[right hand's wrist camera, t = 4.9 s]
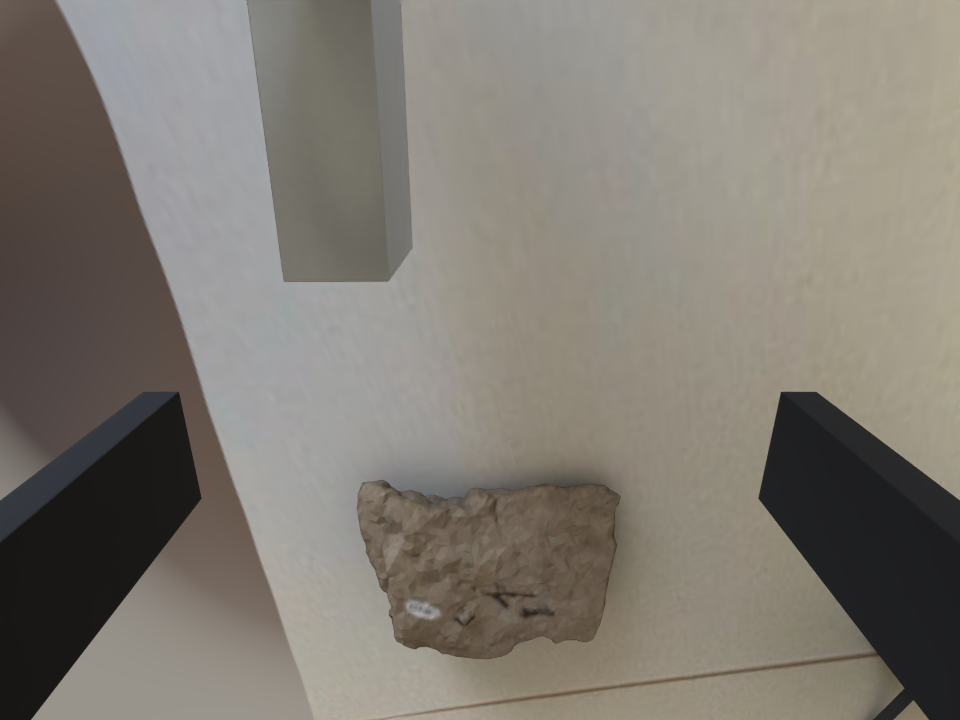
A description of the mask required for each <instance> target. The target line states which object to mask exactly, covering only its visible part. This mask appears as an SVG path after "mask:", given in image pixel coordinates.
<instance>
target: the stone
mask: <svg viewBox="0 0 960 720" xmlns="http://www.w3.org/2000/svg"><path fill="white" fill-rule="evenodd" d="M619 500H620V496H619V495H618V494H617V493H615V492H614V491H612V490H610V489H609V488H607V487H606V486H605V485H593V484H589V485H581V486H574V487H570V488H562V487H555V486H552V485H550V484H542V485H538V486H535V487H527V488H525V489H522V490H508V489H504V488H500V489H495V490H485V489H482V488H472V489H470V490H469V492H468V494H467V496H466V498H464V499H463V498H459V497H453V498H449V499H447V500H446V499H443V498H441V497H438V496H435V495H428V496H426V497H425V496H424V495H422V494H421V493H418V492H415V491H411V490H410V491H406V492H399V491H397V490H396V489H394V488H393V487H391V486H390V485H389V483H388V482H386V481H384V480H379V481H375V482H363V483H362V486H361V488H360V490H359V493H358V505H357V512H358V518H359V524H360V530H361V534H362V537H363V540H364V542H365V543H366V553H367V555H368V557H369V560H370V563H371V564H372V566H373V567H374V569H375V571H376V575H377V577H378V580H379V584H380V588H381V589H382V590H383V591H384V592H386V593H387V595H388V599H389V602H390V604H391V609H390V610H389V616H390V617H391V618H392V624H393V628H394V637H395V639H396V641H397V642H399V643H401V644H403V645H404V646H406V647H409V648H412V649H417V648H419V647H429V648H433V649H436V650H438V651H439V652H440V653H442V654H449V655H453V656H456V657H466V658H475V659H492V658H496V657H500V656H504V655H507V654H508V653H509V652H510V651H512V649H513V647H514V646H515V645H517V644H518V643H520V642H523V641H528V640H531V639H534V638H536V637H539V636H545V637H547V638H549V639H551V640H552V641H553V642H554V643H556V644H557V643H559V642H562V641H564V640H578V641H581V642H588V641H591V640H592V639H593V638H594V636H595V634H596V631H597V629H598V627H599V625H600V622H601V618H602V615H603V610H604V606H605V594H606V590H607V586H608V580H609V574H610V570H611V567H612V563H613V558H614V554H615V551H616V547H617V543H616V541H615V538H614V528H615V523H614V521H615V507H616V506H617V505H618V504H619Z"/></svg>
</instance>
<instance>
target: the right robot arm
mask: <svg viewBox="0 0 960 720" xmlns="http://www.w3.org/2000/svg"><path fill="white" fill-rule="evenodd" d="M200 500H201V494H200V489H199V484H198V480H197V475H196V470H195V466H194V461H193V456H192V452H191V447H190V442H189V437H188V433H187V428H186V423H185V418H184V414H183V409H182V405H181V400H180V395H179V392H143V393H142V394H140V395H139V396H138V397H136V398H135V399H134V400H132V401H131V402H130V403H128V404H127V405H126V406H124V407H123V408H122V409H120V410H119V411H118V412H117V413H115V414H114V415H113V416H111V417H110V418H109V419H107V420H106V421H105V422H103V423H102V424H101V425H99V426H98V427H97V428H95V429H94V430H93V431H91V432H90V433H89V434H88V435H86V436H85V437H84V438H82V439H81V440H80V441H78V442H77V443H76V444H74V445H73V446H72V447H70V448H69V449H68V450H66V451H65V452H64V453H62V454H61V455H60V456H58V457H57V458H56V459H54V460H53V461H52V462H51V463H49V464H48V465H47V466H45V467H44V468H43V469H41V470H40V471H39V472H37V473H36V474H35V475H33V476H32V477H31V478H29V479H28V480H27V481H25V482H24V483H23V484H21V485H20V486H19V487H18V488H16V489H15V490H14V491H12V492H11V493H10V494H8V495H7V496H6V497H4V498H3V499H2V500H0V720H31V719H32V718H33V716H34V715H35V714H36V712H37V711H38V710H39V709H40V707H41V706H42V705H43V703H44V702H45V701H46V700H47V698H48V697H49V696H50V694H51V693H52V692H53V690H54V689H55V688H56V687H57V685H58V684H59V683H60V681H61V680H62V679H63V677H64V676H65V675H66V674H67V672H68V671H69V670H70V668H71V667H72V666H73V664H74V663H75V662H76V661H77V659H78V658H79V657H80V655H81V654H82V653H83V651H84V650H85V649H86V648H87V646H88V645H89V644H90V642H91V641H92V640H93V639H94V637H95V636H96V635H97V633H98V632H99V631H100V629H101V628H102V627H103V626H104V624H105V623H106V622H107V620H108V619H109V618H110V616H111V615H112V614H113V613H114V611H115V610H116V609H117V607H118V606H119V605H120V604H121V602H122V601H123V600H124V598H125V597H126V596H127V594H128V593H129V592H130V591H131V589H132V588H133V587H134V585H135V584H136V583H137V581H138V580H139V579H140V577H141V576H142V575H143V574H144V572H145V571H146V570H147V569H148V567H149V566H150V565H151V563H152V562H153V561H154V559H155V558H156V557H157V556H158V554H159V553H160V552H161V550H162V549H163V548H164V546H165V545H166V544H167V543H168V541H169V540H170V539H171V537H172V536H173V535H174V533H175V532H176V531H177V530H178V528H179V527H180V526H181V524H182V523H183V522H184V521H185V519H186V518H187V517H188V515H189V514H190V513H191V511H192V510H193V509H194V507H195V506H196V505H197V504H198V502H199V501H200ZM759 500H760V501H761V502H762V504H763V505H764V506H765V508H766V509H767V510H768V511H769V513H770V514H771V515H772V517H773V518H774V519H775V521H776V522H777V523H778V524H779V526H780V527H781V528H782V530H783V531H784V532H785V533H786V535H787V536H788V537H789V539H790V540H791V541H792V543H793V544H794V545H795V546H796V548H797V549H798V550H799V552H800V553H801V554H802V556H803V557H804V558H805V559H806V561H807V562H808V563H809V565H810V566H811V567H812V569H813V570H814V571H815V572H816V574H817V575H818V576H819V578H820V579H821V580H822V581H823V583H824V584H825V585H826V587H827V588H828V589H829V591H830V592H831V593H832V594H833V596H834V597H835V598H836V600H837V601H838V602H839V604H840V605H841V606H842V607H843V609H844V610H845V611H846V613H847V614H848V615H849V616H850V618H851V619H852V620H853V622H854V623H855V624H856V626H857V627H858V628H859V629H860V631H861V632H862V633H863V635H864V636H865V637H866V639H867V640H868V641H869V642H870V644H871V645H872V646H873V648H874V649H875V650H876V652H877V653H878V654H879V655H880V657H881V658H882V659H883V661H884V662H885V663H886V664H887V666H888V667H889V668H890V670H891V671H892V672H893V674H894V675H895V676H896V677H897V679H898V680H899V681H900V683H901V684H902V685H903V687H904V690H903V691H902V692H901V693H900V694H899V695H898V696H897V697H896V698H895V699H894V700H893V701H892V702H891V703H890V704H889V705H888V706H887V707H886V708H885V709H884V710H883V711H882V712H881V713H880V714H879V715H878V716H877V717H875V718H874V719H873V720H893V719H894V718H895V717H896V716H897V715H899V714H900V713H901V712H902V711H903V710H904V709H905V708H906V707H907V706H908V705H909V704H910V703H911V702H912V701H913V700H914V701H915V702H916V703H917V705H918V706H919V707H920V709H921V710H922V711H923V712H924V714H925V715H926V716H927V718H928V719H929V720H960V500H958V499H957V498H956V497H954V496H953V495H952V494H950V493H949V492H948V491H946V490H945V489H944V488H942V487H941V486H940V485H939V484H937V483H936V482H935V481H933V480H932V479H931V478H929V477H928V476H927V475H925V474H924V473H923V472H921V471H920V470H919V469H917V468H916V467H915V466H913V465H912V464H911V463H909V462H908V461H907V460H906V459H904V458H903V457H902V456H900V455H899V454H898V453H896V452H895V451H894V450H892V449H891V448H890V447H888V446H887V445H886V444H884V443H883V442H882V441H880V440H879V439H878V438H876V437H875V436H874V435H873V434H871V433H870V432H869V431H867V430H866V429H865V428H863V427H862V426H861V425H859V424H858V423H857V422H855V421H854V420H853V419H851V418H850V417H849V416H847V415H846V414H845V413H843V412H842V411H841V410H840V409H838V408H837V407H836V406H834V405H833V404H832V403H830V402H829V401H828V400H826V399H825V398H824V397H822V396H821V395H820V394H818V393H817V392H781V395H780V400H779V404H778V409H777V414H776V418H775V423H774V428H773V433H772V437H771V442H770V447H769V451H768V456H767V461H766V465H765V470H764V475H763V480H762V484H761V489H760V494H759Z"/></svg>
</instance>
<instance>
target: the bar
mask: <svg viewBox="0 0 960 720" xmlns="http://www.w3.org/2000/svg"><path fill="white" fill-rule="evenodd" d="M247 5H248V13H249V20H250V28H251V35H252V43H253V51H254V58H255V66H256V74H257V81H258V89H259V97H260V104H261V112H262V119H263V127H264V135H265V142H266V150H267V158H268V165H269V173H270V181H271V188H272V196H273V203H274V211H275V219H276V226H277V234H278V242H279V249H280V257H281V265H282V272H283V280H284V282H371V281H389V280H390V279H391V277H392V276H393V275H394V273H395V272H396V270H397V269H398V268H399V266H400V265H401V263H402V262H403V260H404V259H405V258H406V256H407V255H408V253H409V252H410V251H411V249H412V226H411V205H410V184H409V163H408V142H407V121H406V100H405V79H404V58H403V37H402V16H401V0H247Z"/></svg>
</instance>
